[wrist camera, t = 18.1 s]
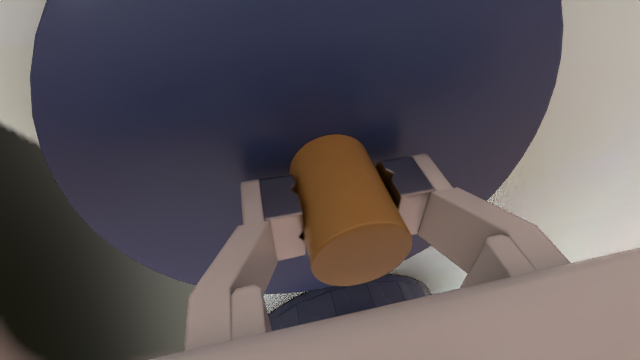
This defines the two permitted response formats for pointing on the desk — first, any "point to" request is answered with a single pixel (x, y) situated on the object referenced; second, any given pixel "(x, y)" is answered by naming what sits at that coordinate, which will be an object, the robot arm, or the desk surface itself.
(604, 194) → the desk surface
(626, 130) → the desk surface
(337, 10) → the lid
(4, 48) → the desk surface
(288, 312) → the tin
